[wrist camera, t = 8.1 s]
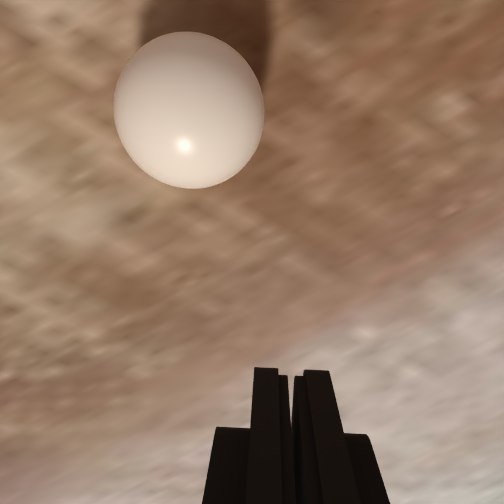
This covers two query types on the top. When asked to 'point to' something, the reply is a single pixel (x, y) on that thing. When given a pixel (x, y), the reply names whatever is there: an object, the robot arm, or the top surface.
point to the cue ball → (189, 110)
